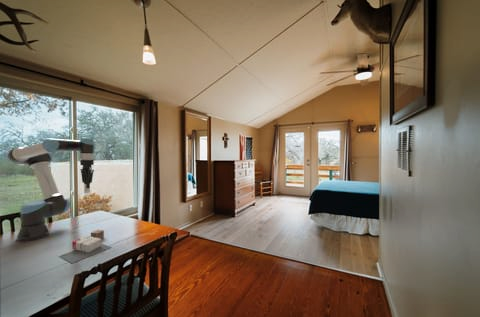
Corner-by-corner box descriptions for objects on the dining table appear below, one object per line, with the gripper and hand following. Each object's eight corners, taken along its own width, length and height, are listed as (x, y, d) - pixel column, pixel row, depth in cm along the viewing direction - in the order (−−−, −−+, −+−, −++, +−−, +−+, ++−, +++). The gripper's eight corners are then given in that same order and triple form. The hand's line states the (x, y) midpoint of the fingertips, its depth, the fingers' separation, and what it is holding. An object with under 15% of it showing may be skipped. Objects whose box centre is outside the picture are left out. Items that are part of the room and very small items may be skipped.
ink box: (71, 249, 116) (87, 253, 114) (72, 241, 116) (88, 245, 113) (86, 242, 125) (101, 246, 122) (86, 235, 124) (101, 238, 122)
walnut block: (90, 239, 131) (90, 232, 131) (97, 236, 136) (97, 229, 136) (97, 240, 130) (97, 233, 130) (103, 237, 135) (103, 230, 135)
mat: (59, 256, 110) (59, 256, 110) (98, 242, 128) (98, 242, 128) (71, 263, 103) (71, 262, 103) (111, 247, 121) (111, 247, 121)
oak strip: (61, 255, 111) (61, 254, 111) (96, 243, 127) (96, 242, 127) (62, 256, 110) (62, 255, 110) (97, 243, 126) (97, 242, 126)
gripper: (76, 159, 139) (76, 192, 140) (86, 159, 133) (85, 194, 134) (88, 159, 146) (88, 190, 147) (98, 159, 140) (98, 192, 141)
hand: (87, 192), depth 140 cm, fingers closed
